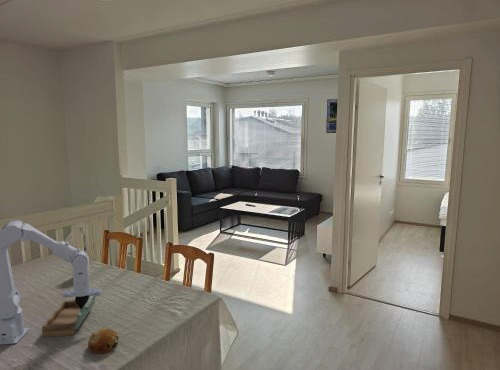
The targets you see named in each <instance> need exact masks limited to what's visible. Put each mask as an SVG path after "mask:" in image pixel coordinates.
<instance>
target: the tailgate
mask: <svg viewBox="0 0 500 370" xmlns="http://www.w3.org/2000/svg"><path fill="white" fill-rule="evenodd" d="M96 296H97V295H95V296H90V297H89V299H88V301H87V302H86V304H85V305H84V307H83V308H82V309H81V311H80V312H79V313H78V316H77V320H76V325H75V329H77V330H78V329H79V328H78V327H80V326H81V325H80V324H82V323H83V322H82V321H84V320H85V319H86V317H87V316H88V315H89V313H90V311H91V310H92V308H93V307H94V305H95V301H96ZM84 318H85V319H84Z"/></svg>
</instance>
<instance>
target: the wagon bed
mask: <svg viewBox="0 0 500 370" xmlns="http://www.w3.org/2000/svg"><path fill="white" fill-rule="evenodd" d="M80 311H81V309H80V307H79V306H78V304H77V303H76V302H75V299H74V300H64V301H63V302H62V303H61V304H60V305H59V306H58V307H57V309H56V310H55V311H54V312H53V314H52V315H50V316H49V318H48V319H47V321H46V322H45V323H44V324H43V325H42V326H41V331H42V337H43V338H44V337H46V338H47V337H61V336H62V337H63V336H75V333H76V332H77V331H78V329H79V327H80V326H81V324H82V323H83V321H84V320H85V319H86V317H85V318H84V320H83V321H82V323H81V324H80V326H79V327H78V329H75V325H76V320H77V316H78V313H79V312H80Z"/></svg>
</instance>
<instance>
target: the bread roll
mask: <svg viewBox="0 0 500 370" xmlns="http://www.w3.org/2000/svg"><path fill="white" fill-rule="evenodd" d="M118 343H119V336H118V333H117V331H116V330H115V329H113V328H112V327H102V328H99V329H98V330H95V331H94V332H93V333H92V334H91V335H90V336H89V339H88V341H87V347H88V350H89V351H90V352H91V353H94V354H96V355H100V354H105V353H109V352H110V351H112V350H115V348H116V347H117V345H118Z"/></svg>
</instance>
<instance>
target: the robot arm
mask: <svg viewBox="0 0 500 370" xmlns="http://www.w3.org/2000/svg"><path fill="white" fill-rule="evenodd" d="M19 240H21V242H26V241H31V242H34V243H37V244H39V245H41V246H43V247H45V248H47V249H50V250H51V251H52V252H51V253H52V255H54V256H56V257H58V258H60V259H61V260H63V261H65V262H67V263H70V266H71V267H72V281H73V282H72V283H73V289H70V290H64V291H63V292H62V293H61V294H62V298H63V299H65V298H69V297H70V298H71V297H73V298H74V297H75V298H74V300H75V302H76V303H77V304H78V306H79V307H80V309H82V308H83V307H84V305H85V304H86V302H87V301H88V300H89V298H90V297H91V296H95V295H96V296H98V297H101V296H102V295H103V291H102V290H103V289H102V288H100V289H98V288H97V289H96V288H91V286H90V285H91V284H90V282H91V281H90V273H89V272H90V271H89V270H90V268H89V269H88V257H89V256H88V254H87V252H86V251H85V250H84V249H80V248H76V247H74V246H72V245H70V243H69V242H68V241H66V242H65V241H64V240H61V241H57V240H55V239H52V238H51V237H50V236H48V235H46V234H45V233H43V232H42V231H40V230H38V229H36V227H33V226H32V225H31V224H29V223H25V222H23V220H19V219H12V220H10V221H9V222H8V223H5V225H3V227H2V228H1V229H0V345H9V344H10V345H12V344H17V343H19V342H20V341H21V339H22V338H23V337H24V336H25V335H26V333H27V332H29V330H30V329H31V328H30V327H25V324H24V315H23V309H22V308H21V306H20V304H21V303H22V296H21V294H19V292H18V289H17V287H16V285H15V282H14V275H13V270H12V265H11V260H10V258H11V257H10V253H9V247H10V246H11V245H12V244H14V243H17V242H18V241H19Z"/></svg>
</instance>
